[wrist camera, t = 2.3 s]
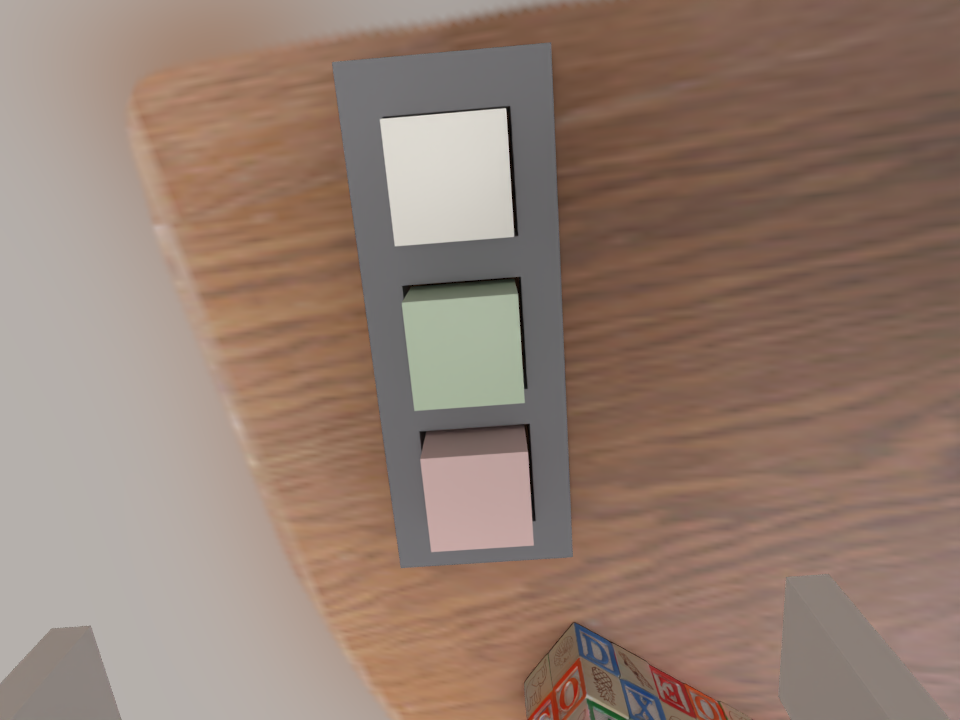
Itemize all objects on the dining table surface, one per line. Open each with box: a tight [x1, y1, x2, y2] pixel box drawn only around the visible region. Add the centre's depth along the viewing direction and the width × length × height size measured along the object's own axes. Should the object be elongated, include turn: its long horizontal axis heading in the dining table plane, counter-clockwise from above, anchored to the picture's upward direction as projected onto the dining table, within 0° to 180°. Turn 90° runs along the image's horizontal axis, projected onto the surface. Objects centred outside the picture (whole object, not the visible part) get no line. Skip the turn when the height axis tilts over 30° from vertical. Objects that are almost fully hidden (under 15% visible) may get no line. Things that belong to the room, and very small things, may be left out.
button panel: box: [332, 43, 573, 568], centre depth 34 cm, size 27×10×3 cm, turn 5°
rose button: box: [420, 424, 534, 552], centre depth 34 cm, size 5×5×4 cm
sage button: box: [402, 279, 525, 411], centre depth 32 cm, size 5×5×4 cm
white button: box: [380, 108, 514, 246], centre depth 30 cm, size 5×5×4 cm
